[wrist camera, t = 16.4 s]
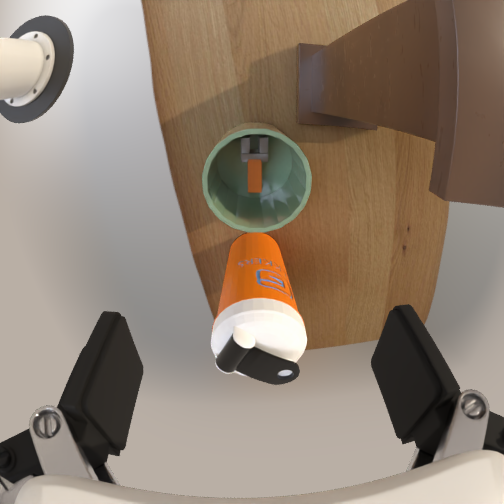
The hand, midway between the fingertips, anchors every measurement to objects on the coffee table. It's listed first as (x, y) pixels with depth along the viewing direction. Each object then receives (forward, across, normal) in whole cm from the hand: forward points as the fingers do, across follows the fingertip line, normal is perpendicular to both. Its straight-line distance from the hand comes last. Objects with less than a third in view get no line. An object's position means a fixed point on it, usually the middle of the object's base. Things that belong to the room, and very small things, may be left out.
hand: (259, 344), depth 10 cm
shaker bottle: (+29, -1, +13) cm, 32 cm away
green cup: (+29, -1, 0) cm, 29 cm away
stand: (+29, -11, -10) cm, 32 cm away
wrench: (+28, -1, 0) cm, 28 cm away
